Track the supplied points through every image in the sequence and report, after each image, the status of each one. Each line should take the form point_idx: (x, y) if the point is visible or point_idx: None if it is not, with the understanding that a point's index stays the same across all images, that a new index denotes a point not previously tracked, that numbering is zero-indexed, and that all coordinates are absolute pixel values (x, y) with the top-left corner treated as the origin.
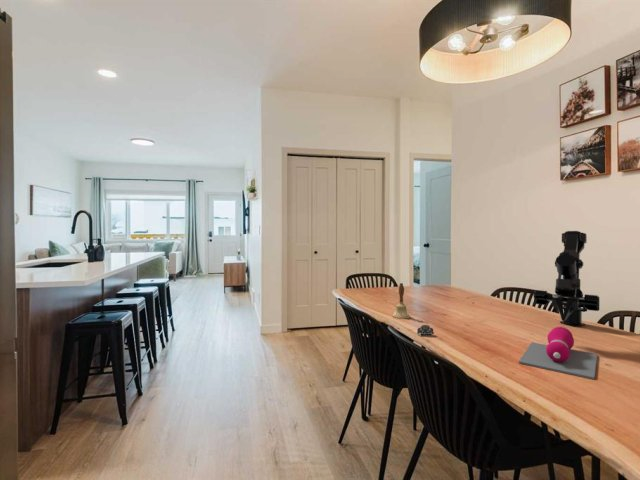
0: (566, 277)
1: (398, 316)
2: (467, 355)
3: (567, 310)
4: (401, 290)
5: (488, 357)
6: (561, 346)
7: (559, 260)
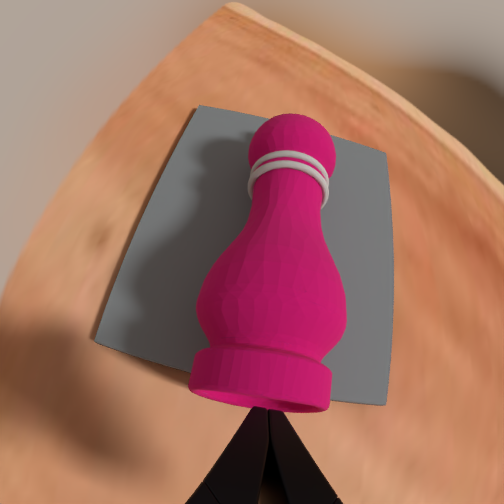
0: None
1: None
2: (483, 182)
3: (220, 490)
4: None
5: (451, 180)
6: (286, 114)
7: None
